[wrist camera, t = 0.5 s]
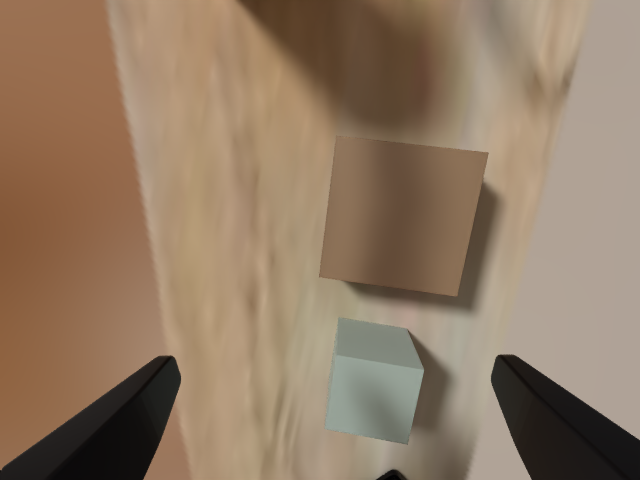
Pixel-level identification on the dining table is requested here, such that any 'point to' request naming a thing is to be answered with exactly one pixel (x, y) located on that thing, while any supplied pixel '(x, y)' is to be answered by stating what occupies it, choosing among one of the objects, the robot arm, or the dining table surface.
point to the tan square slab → (400, 214)
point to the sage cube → (373, 381)
